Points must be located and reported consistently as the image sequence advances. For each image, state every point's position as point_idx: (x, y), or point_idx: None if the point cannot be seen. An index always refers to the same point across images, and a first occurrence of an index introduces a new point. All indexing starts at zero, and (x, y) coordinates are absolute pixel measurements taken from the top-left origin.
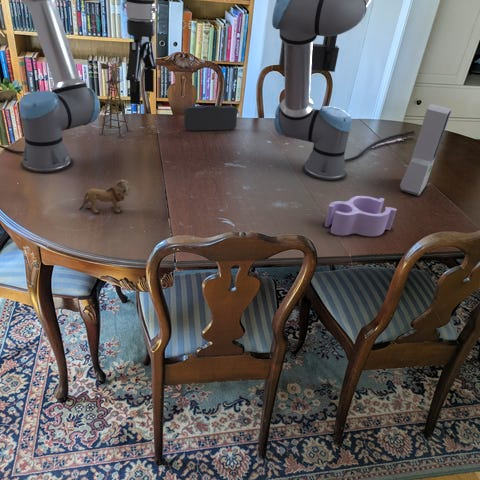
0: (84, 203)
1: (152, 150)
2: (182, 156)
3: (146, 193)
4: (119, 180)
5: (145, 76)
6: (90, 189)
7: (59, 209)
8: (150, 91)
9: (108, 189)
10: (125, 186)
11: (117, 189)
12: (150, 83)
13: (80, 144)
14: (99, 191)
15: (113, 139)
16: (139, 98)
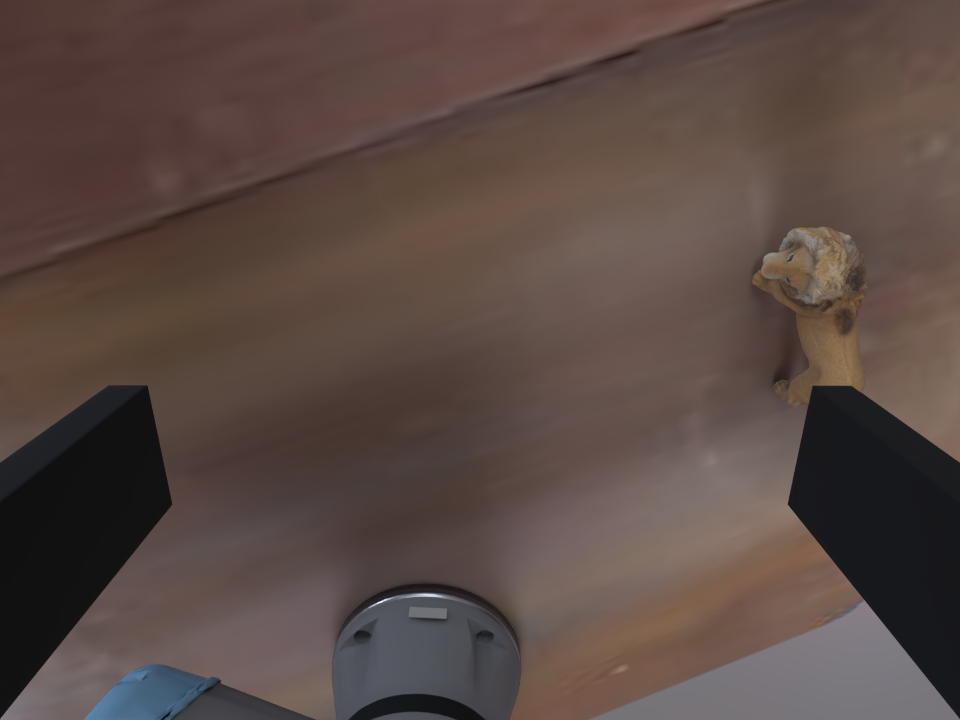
0: None
1: (58, 306)
2: (38, 109)
3: (587, 181)
4: (820, 292)
5: (21, 665)
6: None
7: None
8: (152, 426)
9: (849, 324)
10: (851, 244)
11: (865, 278)
12: (75, 495)
13: (182, 624)
14: (855, 360)
15: None
16: (911, 428)
